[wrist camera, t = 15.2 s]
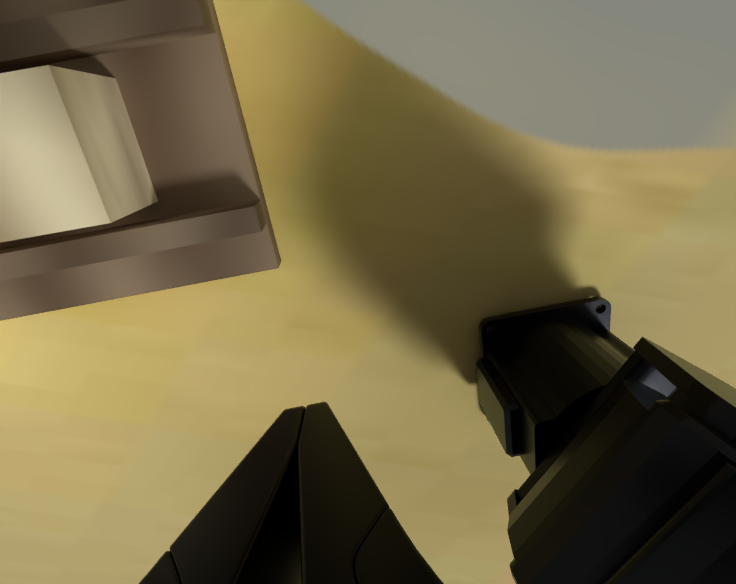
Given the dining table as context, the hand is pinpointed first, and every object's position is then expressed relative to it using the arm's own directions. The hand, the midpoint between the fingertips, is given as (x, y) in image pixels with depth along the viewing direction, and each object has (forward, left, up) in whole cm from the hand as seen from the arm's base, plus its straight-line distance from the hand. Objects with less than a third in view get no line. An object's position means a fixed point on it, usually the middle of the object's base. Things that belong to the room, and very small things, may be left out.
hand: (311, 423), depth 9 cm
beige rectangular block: (+10, -6, -11) cm, 16 cm away
